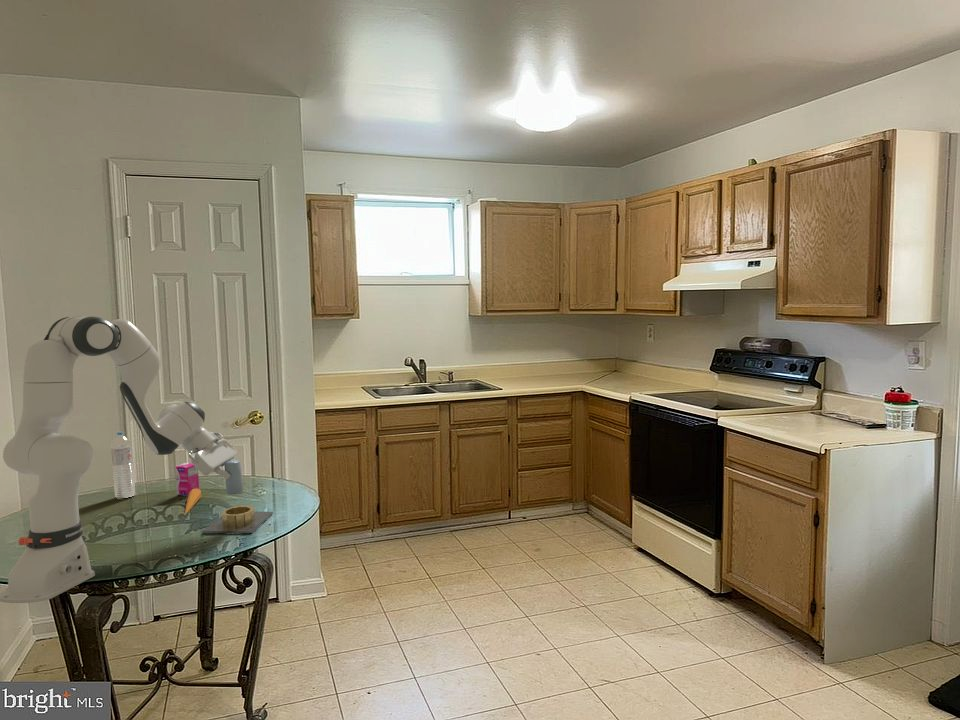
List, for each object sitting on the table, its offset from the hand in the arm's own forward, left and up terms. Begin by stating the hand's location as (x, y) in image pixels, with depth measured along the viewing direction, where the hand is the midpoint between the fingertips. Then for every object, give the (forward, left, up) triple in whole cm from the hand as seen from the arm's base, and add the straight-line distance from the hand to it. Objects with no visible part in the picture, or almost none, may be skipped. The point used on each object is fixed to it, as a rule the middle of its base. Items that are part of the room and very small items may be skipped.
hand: (233, 474), depth 213 cm
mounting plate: (0, -1, -17) cm, 17 cm away
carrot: (+19, +26, -17) cm, 36 cm away
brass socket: (0, -1, -17) cm, 17 cm away
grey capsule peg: (0, 0, -6) cm, 6 cm away
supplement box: (+33, +33, -17) cm, 50 cm away
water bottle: (+30, +56, -17) cm, 66 cm away
